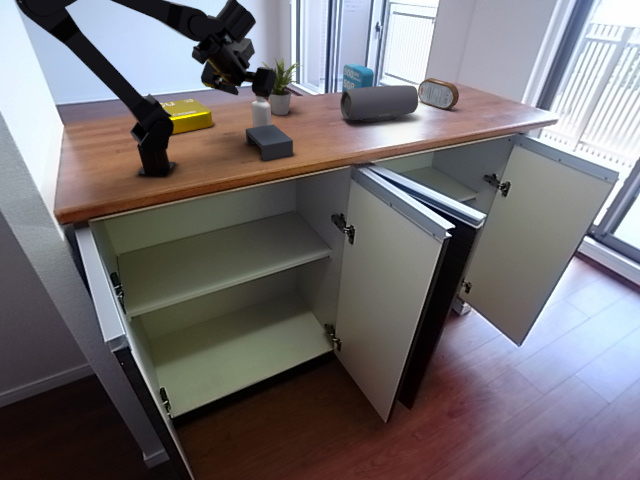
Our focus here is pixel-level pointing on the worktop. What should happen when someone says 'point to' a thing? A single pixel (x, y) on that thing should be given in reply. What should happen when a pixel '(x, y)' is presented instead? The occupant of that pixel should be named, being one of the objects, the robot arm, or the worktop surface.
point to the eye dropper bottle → (261, 113)
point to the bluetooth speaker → (378, 102)
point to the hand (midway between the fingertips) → (252, 96)
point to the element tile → (188, 115)
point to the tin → (438, 93)
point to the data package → (357, 77)
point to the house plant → (281, 89)
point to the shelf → (270, 141)
